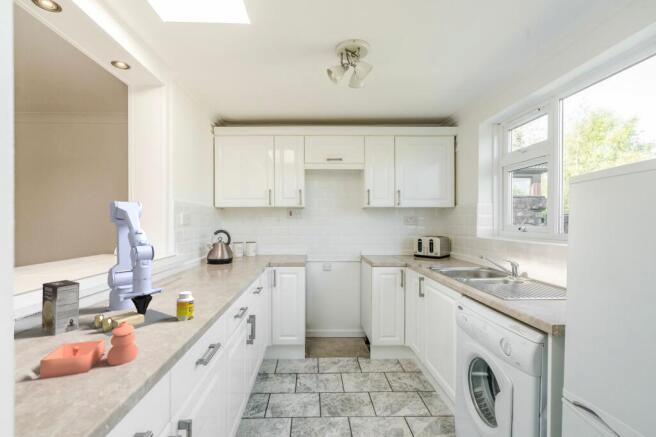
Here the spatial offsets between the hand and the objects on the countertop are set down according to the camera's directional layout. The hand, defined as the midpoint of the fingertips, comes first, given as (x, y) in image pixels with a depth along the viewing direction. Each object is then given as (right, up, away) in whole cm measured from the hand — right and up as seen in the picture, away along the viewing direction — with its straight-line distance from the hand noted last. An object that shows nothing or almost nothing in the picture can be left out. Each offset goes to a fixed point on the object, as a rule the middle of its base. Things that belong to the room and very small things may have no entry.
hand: (141, 316), depth 103 cm
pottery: (+8, -2, -30) cm, 31 cm away
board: (-2, -2, -2) cm, 3 cm away
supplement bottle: (+15, -2, +1) cm, 15 cm away
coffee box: (-20, -2, -10) cm, 22 cm away
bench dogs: (-6, -1, -10) cm, 12 cm away
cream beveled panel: (-3, -1, -4) cm, 5 cm away
